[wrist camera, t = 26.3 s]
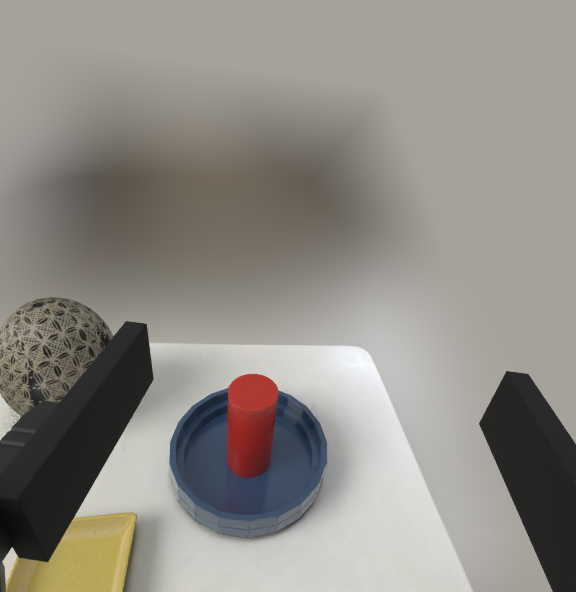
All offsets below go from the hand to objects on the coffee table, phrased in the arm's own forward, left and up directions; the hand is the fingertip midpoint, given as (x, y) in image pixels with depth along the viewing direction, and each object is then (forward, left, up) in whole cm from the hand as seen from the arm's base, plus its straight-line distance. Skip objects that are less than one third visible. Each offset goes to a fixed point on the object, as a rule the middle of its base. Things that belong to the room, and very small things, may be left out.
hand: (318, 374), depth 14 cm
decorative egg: (+26, -19, -28) cm, 43 cm away
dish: (+4, -15, -28) cm, 32 cm away
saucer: (+16, -2, -28) cm, 32 cm away
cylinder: (+4, -15, -27) cm, 31 cm away
